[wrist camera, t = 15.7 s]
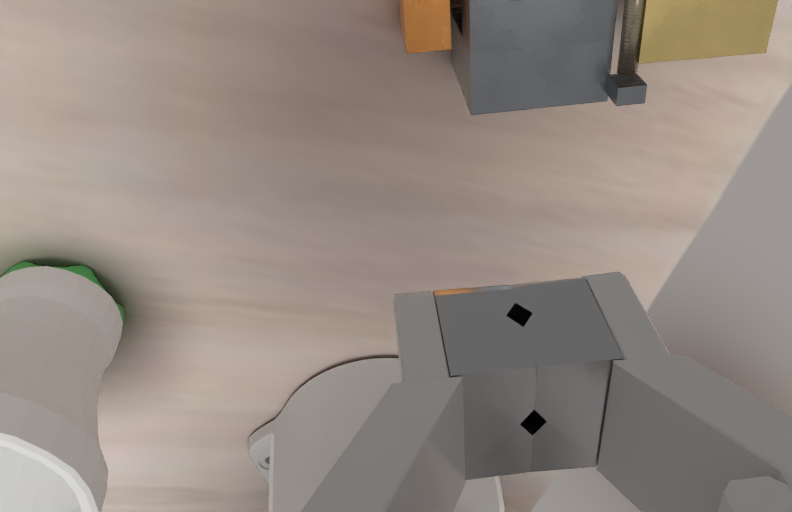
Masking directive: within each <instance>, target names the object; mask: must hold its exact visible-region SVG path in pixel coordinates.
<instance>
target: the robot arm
mask: <svg viewBox="0 0 792 512" xmlns="http://www.w3.org/2000/svg"><path fill="white" fill-rule="evenodd" d="M394 311H395V322H396V333H397V345H398V356H399V358H376V359H366V360H360V361H355V362H351V363H347V364H344V365H340V366H338V367H335V368H332V369H330V370H328V371H325V372H323V373H321V374H319V375H318V376H316V377H314V378H313V379H311V380H310V381H308V382H307V383H306V384H304V385H303V386H302V387H301V388H300V389H298V390H297V391H296V392H295V394H294V395H293V396H292V397H291V398H290V399H289V401H288V402H287V404H286V405H285V407H284V408H283V410H282V412H281V413H280V414H279V415H278V417H277V418H276V419H275V420H273V421H271V422H270V423H268V424H266V425H265V426H263V427H261V428H260V429H258V430H257V431H256V432H254V433H253V434H252V435H251V436H250V438H249V440H248V452H249V455H250V457H251V459H252V460H253V462H254V464H255V465H256V467H257V468H258V470H259V471H260V473H261V475H262V476H263V478H264V479H265V481H266V482H267V484H268V486H269V506H268V512H505V507H504V500H503V494H502V489H501V483H500V478H499V476H502V475H509V474H517V473H524V472H534V471H546V470H559V469H571V468H584V467H597V470H598V471H599V472H600V473H601V474H602V475H603V476H604V477H606V479H607V480H609V481H610V482H611V483H612V484H613V485H614V486H615V487H616V488H617V489H618V490H619V491H620V492H621V493H623V495H625V496H626V497H627V498H628V499H629V500H630V501H631V502H632V503H633V504H634V505H635V506H636V507H637V508H638V509H639V510H640V511H642V512H792V417H791V416H789V415H787V414H786V413H784V412H782V411H781V410H779V409H777V408H775V407H774V406H772V405H770V404H768V403H767V402H765V401H763V400H761V399H760V398H758V397H756V396H754V395H753V394H751V393H749V392H747V391H746V390H744V389H742V388H741V387H739V386H737V385H735V384H734V383H732V382H730V381H728V380H727V379H725V378H723V377H721V376H720V375H718V374H716V373H714V372H713V371H711V370H709V369H707V368H706V367H704V366H702V365H700V364H699V363H697V362H695V361H693V360H692V359H690V358H688V357H687V356H685V355H683V354H677V355H670V353H669V351H668V350H667V348H666V346H665V344H664V343H663V341H662V339H661V337H660V336H659V334H658V332H657V330H656V329H655V327H654V325H653V323H652V322H651V320H650V318H649V316H648V315H647V313H646V311H645V309H644V308H643V306H642V304H641V302H640V301H639V299H638V297H637V295H636V294H635V292H634V290H633V288H632V287H631V285H630V283H629V281H628V280H627V278H626V276H625V275H623V274H622V273H620V272H614V273H606V274H598V275H590V276H582V277H581V278H573V279H564V280H554V281H545V282H535V283H525V284H516V285H501V286H488V287H475V288H462V289H449V290H436V291H433V294H432V292H431V291H428V292H417V293H405V294H394Z"/></svg>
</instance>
